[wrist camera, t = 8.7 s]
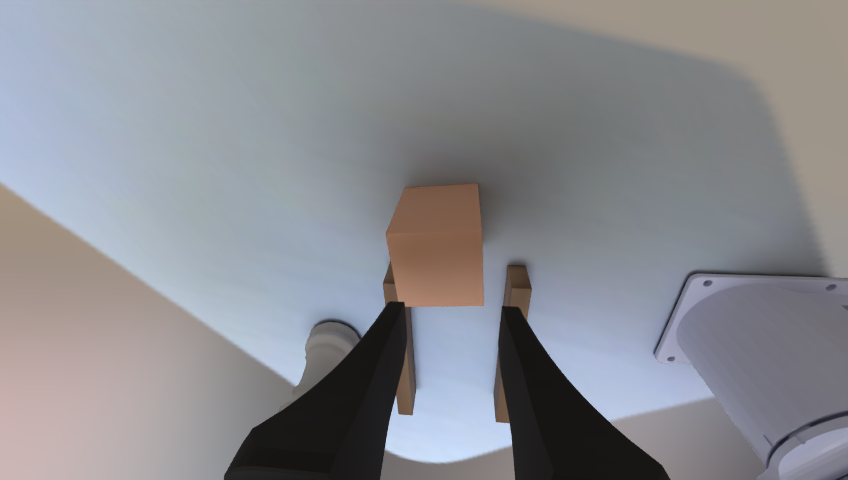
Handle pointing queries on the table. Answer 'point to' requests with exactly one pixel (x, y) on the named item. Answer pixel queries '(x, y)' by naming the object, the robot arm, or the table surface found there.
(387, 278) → the walnut channel
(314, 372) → the rook chess piece
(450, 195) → the terracotta block
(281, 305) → the table surface
